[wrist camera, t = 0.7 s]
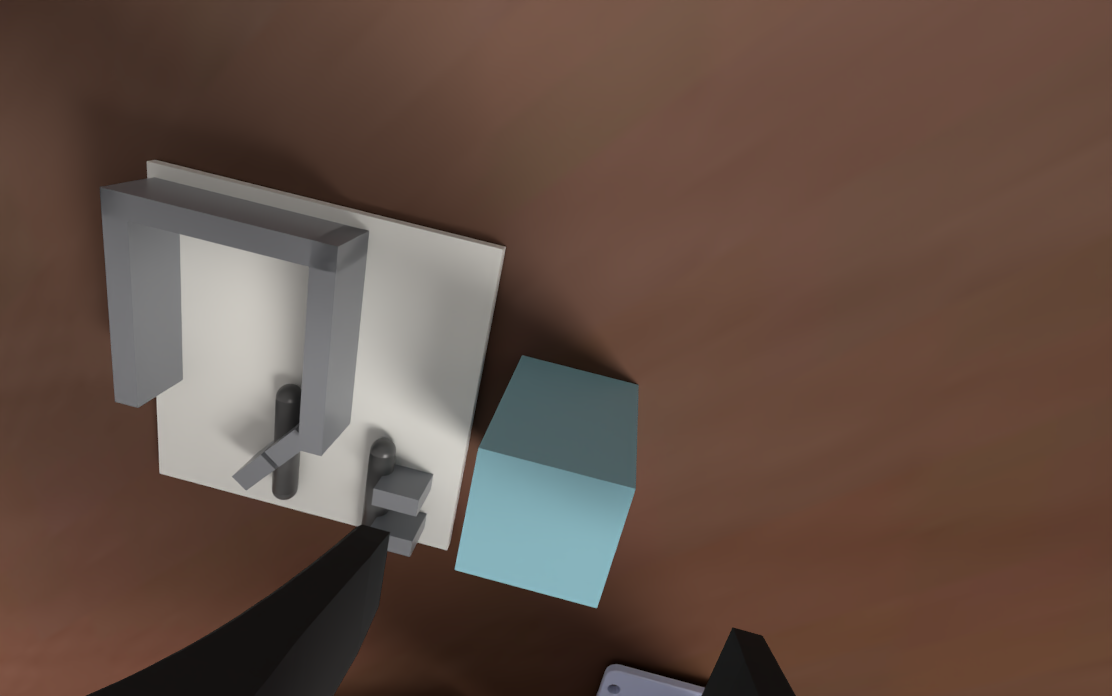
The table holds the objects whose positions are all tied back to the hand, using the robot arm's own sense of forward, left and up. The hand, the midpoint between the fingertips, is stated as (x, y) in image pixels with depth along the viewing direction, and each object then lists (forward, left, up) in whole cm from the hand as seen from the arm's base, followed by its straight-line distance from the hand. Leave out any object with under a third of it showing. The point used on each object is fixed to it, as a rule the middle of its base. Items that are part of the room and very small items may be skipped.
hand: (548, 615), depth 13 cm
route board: (-1, +10, -9) cm, 14 cm away
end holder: (+1, +12, -9) cm, 15 cm away
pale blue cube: (-1, +1, -9) cm, 10 cm away
